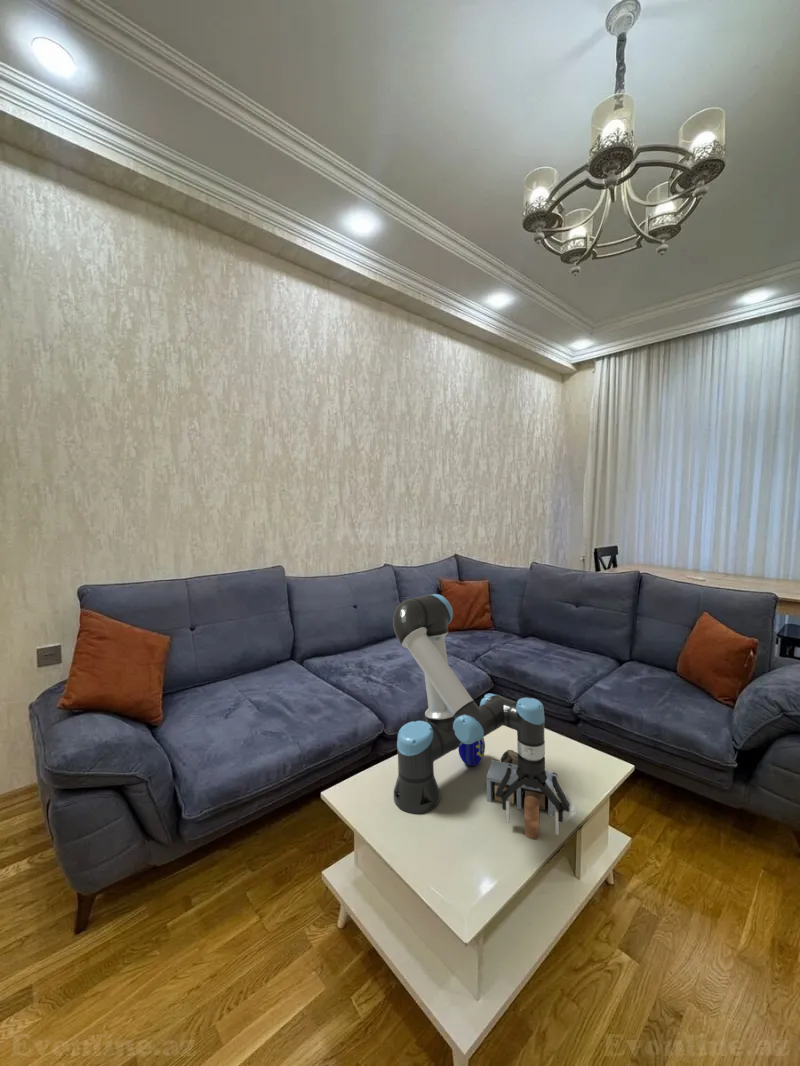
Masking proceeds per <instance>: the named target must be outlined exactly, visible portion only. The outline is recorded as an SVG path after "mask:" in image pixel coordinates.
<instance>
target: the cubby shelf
mask: <svg viewBox="0 0 800 1066" xmlns="http://www.w3.org/2000/svg"><path fill="white" fill-rule="evenodd" d="M508 764H510V763H505V762H501V760H500V761H498V760H493V759H492V760H491V762H490V766H489V768H488V771H487V773H486V802H490V803H491V802H492V798H493V794H494V792H495V782H498V783H501V781H502V779H503V778H504V776H505V774H506V772H507V767H508ZM511 765H512V767H514V768H517V767H518V765H515V764H511ZM545 772H546V774H552V773H553V772H554V771H551V770H546V769H545ZM517 778H518V776H517V774H516V773H514V775H512V776H510V779H509V781H508V782H507V785H511V784H512V783H513V782H515V781H516V780H517ZM545 782H546V783H547V785H548V787H549V788H550V789H551V790H552V792H553V793H554V792H555V789H554V787H553V783H552V784H551V782H550V781H549V780H548V779H547V780H546V781H545ZM525 788H526V789H531V790H536V791H541V790H540V788H537V789H535V788H532V787H526V786H525V785H524V784H523V785H522V786H521V787H519V788H518V789H517V790H516V808H517V809H520V810H521V809H522V803H523V799H524V797H523V796H524V793H525ZM541 792H542V791H541ZM554 794H555V793H554ZM547 803H548V804H547V807H548V808H547V811H548V812H547V815H548V816H551V817H552V816H553V812H554V805H553V804H552V802H551V801H550V800H549V799H548V798H547Z"/></svg>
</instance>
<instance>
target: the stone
mask: <svg viewBox="0 0 800 1066" xmlns="http://www.w3.org/2000/svg"><path fill="white" fill-rule="evenodd" d="M500 762H505V763H510V764H515V765H518V751H517V752H516V751H514V750H513V749H507V750H506V751H504V753H503V754H502V756H501V758H500Z"/></svg>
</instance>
